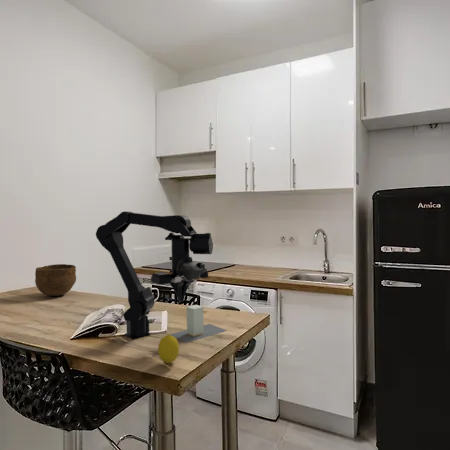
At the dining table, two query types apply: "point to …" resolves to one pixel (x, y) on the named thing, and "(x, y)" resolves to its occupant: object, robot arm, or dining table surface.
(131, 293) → the robot arm
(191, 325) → the block
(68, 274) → the bowl
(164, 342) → the lemon
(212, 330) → the mat
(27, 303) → the dining table surface
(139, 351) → the dining table surface
